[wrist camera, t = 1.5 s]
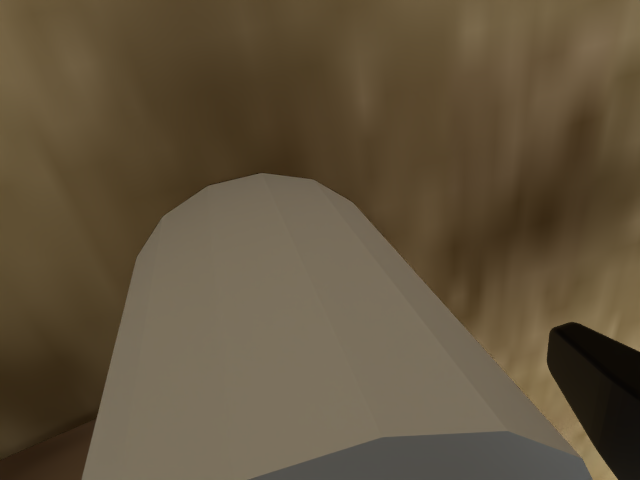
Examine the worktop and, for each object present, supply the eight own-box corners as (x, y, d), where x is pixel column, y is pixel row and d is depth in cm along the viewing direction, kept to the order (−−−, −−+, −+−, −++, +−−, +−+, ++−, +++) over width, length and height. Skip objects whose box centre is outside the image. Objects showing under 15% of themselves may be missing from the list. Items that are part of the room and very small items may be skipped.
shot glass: (27, 232, 10) (-155, 673, 4) (357, 87, 10) (611, 328, 4) (193, 428, 14) (215, 793, 8) (429, 323, 14) (612, 610, 8)
